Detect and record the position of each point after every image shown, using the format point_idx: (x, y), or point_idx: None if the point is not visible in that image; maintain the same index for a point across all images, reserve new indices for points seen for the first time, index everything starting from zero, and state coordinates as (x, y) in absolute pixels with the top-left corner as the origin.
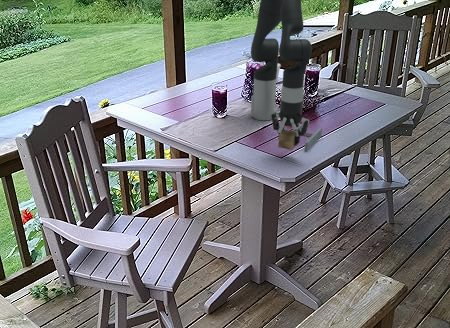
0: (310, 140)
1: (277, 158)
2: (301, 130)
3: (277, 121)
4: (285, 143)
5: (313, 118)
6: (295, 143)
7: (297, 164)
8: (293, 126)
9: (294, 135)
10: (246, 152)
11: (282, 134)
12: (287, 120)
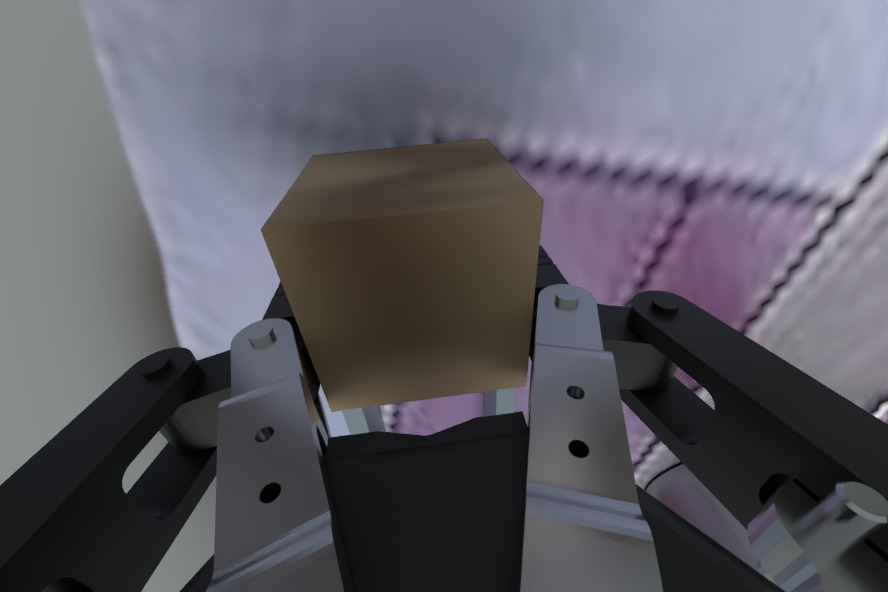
0: (347, 421)
1: (465, 121)
2: (127, 432)
3: (704, 449)
4: (396, 168)
5: None
6: None
7: (253, 112)
8: (279, 452)
9: (298, 314)
10: (755, 69)
11: (477, 221)
12: (495, 574)
